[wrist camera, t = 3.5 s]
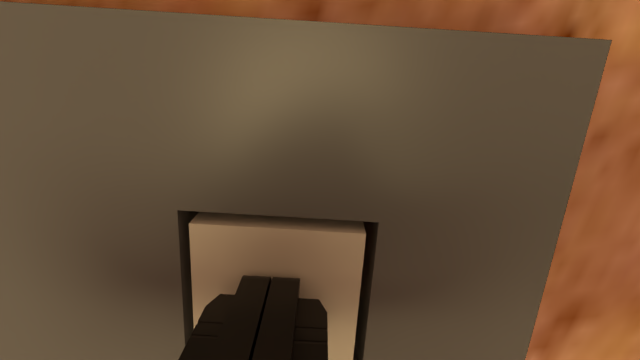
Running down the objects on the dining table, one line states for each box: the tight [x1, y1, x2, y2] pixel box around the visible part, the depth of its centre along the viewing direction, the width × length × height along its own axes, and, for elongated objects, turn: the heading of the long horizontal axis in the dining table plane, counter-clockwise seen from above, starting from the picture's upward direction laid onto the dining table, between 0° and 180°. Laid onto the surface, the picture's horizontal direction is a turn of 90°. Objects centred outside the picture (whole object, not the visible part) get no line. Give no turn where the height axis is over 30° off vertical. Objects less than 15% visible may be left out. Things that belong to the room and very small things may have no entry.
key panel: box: [0, 2, 612, 360], centre depth 11 cm, size 26×14×4 cm, turn 87°
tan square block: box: [189, 212, 366, 360], centre depth 11 cm, size 4×4×2 cm
